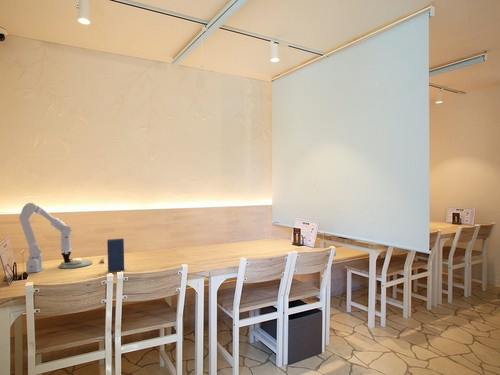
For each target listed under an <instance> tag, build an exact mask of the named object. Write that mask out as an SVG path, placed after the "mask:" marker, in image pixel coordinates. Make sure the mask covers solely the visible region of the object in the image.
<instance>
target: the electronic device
mask: <svg viewBox="0 0 500 375" xmlns="http://www.w3.org/2000/svg"><path fill="white" fill-rule="evenodd" d="M106 241H107V242H106V244H107V245H106V246H107V272H108V273H110V272H118V270H120V271H124V270H125V240H124V238H123V237H121V238H111V239H110V238H109V239H107V240H106ZM109 271H110V272H109Z"/></svg>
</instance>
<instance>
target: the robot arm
mask: <svg viewBox="0 0 500 375" xmlns="http://www.w3.org/2000/svg"><path fill="white" fill-rule="evenodd" d="M33 214H38V215H41V216H42V217H44V218H45V219H46V220H48V221H49V222H50V225H51V226H53V227H54V228H55V229H56V230H57V231H60V252H61V256H62V257H63V262H65V263H68V261H69V259H70V256H71V254H72V252H71V251H73V248H72V243H71V242H72V241H71V231H72V229H71V227H70V226H69V225H68V224H67V223H65V222H64V221H62V219H61V218H59V217H54V216H53V215H52V214H50V213H49V212H47V210H45V209H44V208H43V207H40V206H38V205H37V204H36V203H33V202H27V203H26V204H25V205H24V206H23V207H22V209H21V213H20V214H19V217H18V218H19V219H18V220H19V222H20V225H21V227H22V231H23V233H24V236H25V239H26V241H27V245H28V253H29V255H28V258H27V261H26V264H25V266H26V269H25V272H26V273H27V274H28V273H40V272H41V271H42V270H44V269H45V267H43V257H42V256H43V255H42V250H41V247H40V246H39V245H38V243H37V240H36V237H35V234H34V231H33V229H32V226H31V223H30V220H29V219H30V217H31V216H32V215H33ZM26 273H25V274H26Z"/></svg>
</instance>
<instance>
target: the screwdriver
mask: <svg viewBox="0 0 500 375" xmlns="http://www.w3.org/2000/svg"><path fill="white" fill-rule="evenodd" d="M104 262H105V259H104V257H101V258H100V259H99V263H100V264H104Z"/></svg>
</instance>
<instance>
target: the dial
mask: <svg viewBox="0 0 500 375" xmlns="http://www.w3.org/2000/svg"><path fill="white" fill-rule="evenodd" d="M82 260H83V259H82V258H81V257H77V258H76V257H75V258H69V261H68V263H70V264H80V263H82Z"/></svg>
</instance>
